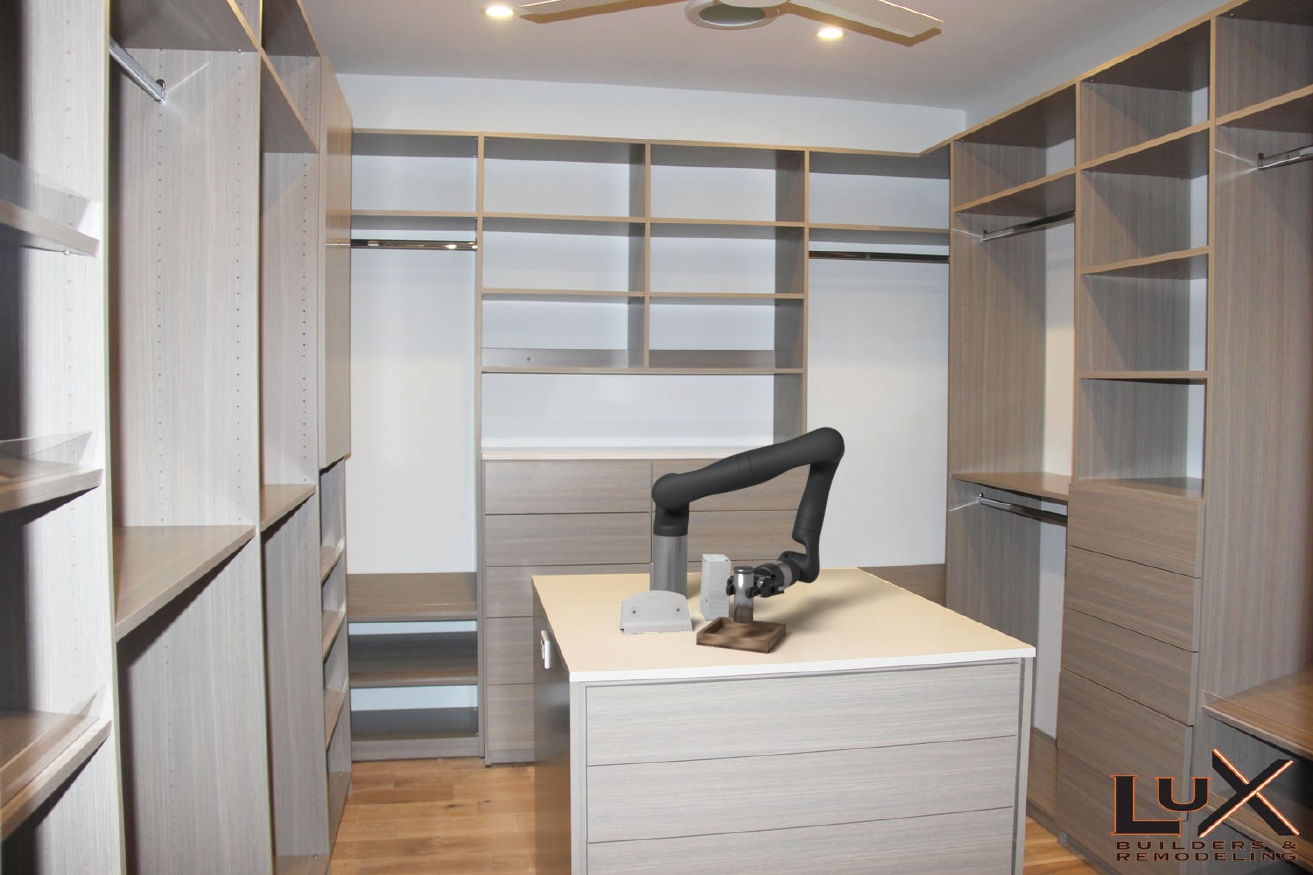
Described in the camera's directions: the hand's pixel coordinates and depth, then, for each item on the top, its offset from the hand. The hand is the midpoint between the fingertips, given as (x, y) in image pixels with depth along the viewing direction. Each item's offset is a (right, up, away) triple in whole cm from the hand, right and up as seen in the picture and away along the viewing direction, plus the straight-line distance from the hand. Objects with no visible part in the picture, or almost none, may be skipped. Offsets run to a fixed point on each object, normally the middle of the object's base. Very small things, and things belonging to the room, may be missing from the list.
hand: (738, 592), depth 199 cm
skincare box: (-4, -10, +23) cm, 26 cm away
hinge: (-18, -11, +11) cm, 24 cm away
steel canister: (+1, -7, +3) cm, 8 cm away
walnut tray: (+1, -11, +3) cm, 11 cm away
